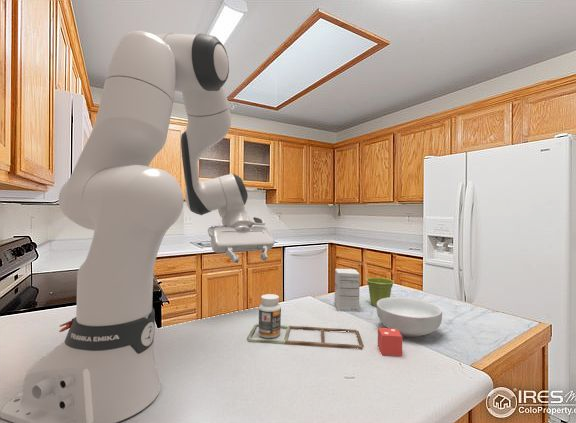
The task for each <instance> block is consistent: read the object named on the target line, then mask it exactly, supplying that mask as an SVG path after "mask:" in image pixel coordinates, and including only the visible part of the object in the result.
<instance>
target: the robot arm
mask: <svg viewBox="0 0 576 423" xmlns="http://www.w3.org/2000/svg"><path fill="white" fill-rule="evenodd" d="M229 65H230V63H229V56H228V53H227V50H226V48H225V46H224V45H223V43H222V42H221V41H220V40H219V38H218V37H216V36H214V35H210V34H207V33H201V32H200V33H197V34H192V33H191V34H190V33H174V32H173V33H172V32H168V33H165V32H164V33H159V34H154V33H151V32H148V31H145V30H132V31H129V32H126V34H124V35H123V36H122V38H121V39H120V40H119V43H118V45H117V46H116V48H115V50H114V53H113V55H112V57H111V60H110V62H109V65H108V69H107V71H106V76H105V80H104V84H103V89H102V92H101V96H100V100H99V101H100V102H99V105H98V111H97V114H96V118H95V122H94V124H93V128H92V129H91V132H90V135H89V137H88V138H87V141H86V142H85V145H84V147H83V149H82V151H81V153H80V155H79V158H78V160H77V161H76V165H75V166H74V168H73V170H72V172H71V175H70V176H69V178H68V179H67V181H66V182H65V183H64V184H63V185H62V187H61V189H60V191H59V194H58V205H59V208H60V210H61V212H62V213H63V215H64V216H65V217H66V218H67V219H68V220H70V221H72V222H73V223H75V224H76V225H78V226H80V227H82V228H84V229H86V230H91V231H93V230H94V231H93V236H92V240H91V244H90V247H89V250H88V254H87V256H86V258H85V261H84V262H83V263H82V264H81V265H80V266H79V268H78V269H77V274H76V278H77V279H76V310H75V312H76V315H75V317H73V318H72V319H71V320H70V321H67V322H65V323H62V324H60V325H59V327H63V328H60V330H59V331H58V332H59V333H62V332H65V331H66V330H68V331H67V334H66V337H65V339H64V341H63V342H61V343H60V344H59V345H58V346H56V347H55V348H53V349H52V350H51V351H50V352H47V353H46V355H44V356H43V357H41V358H40V359H39V360H37V361H36V362H35V363H34V364H33V365H32V366H31V367H30V368H29V369H28V371H27V373H26V375H25V376H24V381H23V386H22V390H21V391H20V392H18V393H17V394H16V395H14V397H12V398H11V399H10V400H9V401H8V402H7V403H6V404H5V405H4V406H3V407H2V409H1V411H0V418H1V419H2V420H5V421H8V422H11V423H118V422H121V421H124V420H126V419H128V418H130V417H133V416H135V415H136V414H138V413H139V412H141V411H143V410H144V409H146V408H147V407H148V406H149V405H151V404H152V403H153V402H154V400H156V399H157V397H158V395H159V393H160V392H161V389H162V387H161V381H160V379H159V378H160V377H159V375H158V371H157V366H156V361H155V360H156V359H155V353H154V340H155V330H156V319H155V318H156V314H155V313H156V312H155V311H156V310H155V308H154V307H153V296H154V294H153V291H154V273H155V264H156V260H157V258H158V253H159V250H160V247H161V244H162V241H163V239H164V237H165V235H166V233H167V232H168V230H169V229H170V228H171V227H172V226H173V225H174V224H175V223H176V222H177V221H178V219H179V218H180V216H181V214H182V213H183V208H184V194H183V190H182V189H183V188H182V187H181V185H180V183H179V182H178V180H177V179H176V178H175V176H174V175H173V174H171V173H169V172H168V171H166V170H164V169H160V168H157V167H153V166H152V167H151V166H150V164H151V163H152V161H153V160H154V159H155V157H156V156H157V155H158V154H159V152H161V151H162V149H163V148H164V146H165V144H166V142H167V137H168V133H169V132H168V131H169V127H170V122H171V116H172V110H173V107H174V99H175V93H176V92H180V93H182V95H181V96H182V100H183V104H184V108H185V112H186V115H187V116H186V117H187V125H186V129H185V131H183V132H182V133H181V136H180V149H181V158H182V159H181V160H182V168H183V169H182V170H183V177H184V181H185V204H186V205H187V208H188V209H189V211H190V212H192V213H193V214H196V215H198V216H203V215H205V214H209V213H211V212H213V211H218V214H219V216H220V218H221V223H222V225H211V227H208V228H207V234H208V236H209V237H210V244H211V250H212V251H213V252H214V253H217V254H221V253H225V255H226V256H227V257H228V258H229V259H231V262H232V264H238V263H239V262H240V257H239V255H238V254H236V253H237V252H241V253H242V252H253V251H260V256H259V258H260V260H261V261H262V262H264V261H267V260H268V255H267V253H268V252H267V251H271V250H272V249H273V247H274V246H275V243H276V239H275V238H274V236H273V233H272V232H271V230H270V228H269V227H268V226H266V225H265V224H266V220H265V219H263V218H260V217H256V216H253V215H252V214H249V213H247V211H246V209H245V205H246V203H247V201H248V199H249V198H248V191H247V188H246V185H245V184H244V182H243V180H242V178H241V177H240V176H239V175H237V174H235V173H230V174H225V175H221V176H218V177H215V178H211V179H206V180H200V176H199V165H198V164H199V163H198V161H199V159H200V157H201V156H202V155H203V154H204V153H205V152H206V151H208V150H209V149H210V148H212V147H213V146H215V145H216V144H219V143H220V142H221V141H222V140H223V139H224V138H225V137H226V136H227V134H228V133H229V131H230V129H231V126H232V118H231V117H232V116H231V110H230V106H229V101H228V96H227V93H226V89H225V87H224V86H225V84H226V81H227V80H228V78H229V73H230V66H229Z"/></svg>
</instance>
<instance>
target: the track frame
mask: <svg viewBox="0 0 576 423" xmlns="http://www.w3.org/2000/svg"><path fill="white" fill-rule="evenodd" d="M257 328H259V323H255V324H254V325H253V327H251V329H250V332H249V334H248V335H247V338H246V340H247V342H249V343H250V342H251V343H265V344H277V345H279V344H280V345H293V346H294V345H295V346H306V347H307V346H309V347H321V348H323V347H325V348H337V349H350V348H356V349H355V350H363V348H362V347H364V346H365V345H364V343H363V340H362V338H361V334H360V331H359V330H357V329H351V328H350V329H348V328H347V329H346V328H333V327H332V328H331V327H320V326H319V327H317V326H304V325H303V326H299V325H286V324H281V326H280V329H281V328H283V329H284V330H285V335H284V338H283V339H274V338H259V337H257V338H256V337H253V336H254V334H255V332H256V330H257ZM298 329H303V330H302V331H314V330H321V331H320V339H321V342H320V341H319V342H318V341H302V340H301V341H300V340H288V339H289V337H290V332H291V330H298ZM330 331H346V332H348V331H349V332H356V333H355V336H356V335H357V336H356V339H357V338H358V339H357V342H358V344H347V343H334V342H333V343H332V342H325V340H326V339H325V332H330ZM346 332H345V333H346ZM357 348H358V349H357Z"/></svg>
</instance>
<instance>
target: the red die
mask: <svg viewBox="0 0 576 423" xmlns="http://www.w3.org/2000/svg"><path fill="white" fill-rule="evenodd" d="M378 347H379V348H378ZM377 348H378V350H379V352H381V353H380V355H381V354H382V355H381V356H386V355H394V356H393V357H401V356H402V357H403V335H401V334H400V332H399V331H398V329H394V328H388V327H377Z"/></svg>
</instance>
